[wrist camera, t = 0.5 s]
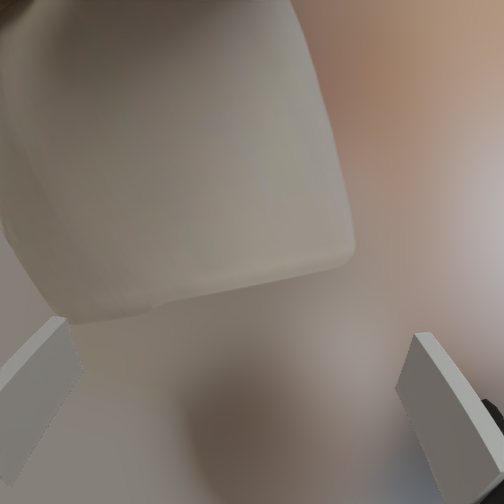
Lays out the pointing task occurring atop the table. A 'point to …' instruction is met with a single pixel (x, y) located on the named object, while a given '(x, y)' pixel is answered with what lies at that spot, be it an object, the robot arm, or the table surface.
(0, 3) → the tan rectangular block
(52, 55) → the table surface
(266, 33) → the table surface
